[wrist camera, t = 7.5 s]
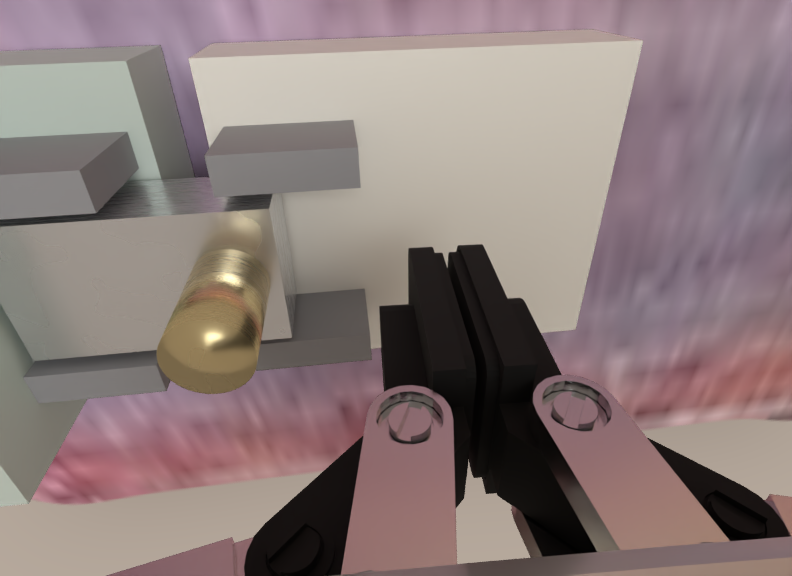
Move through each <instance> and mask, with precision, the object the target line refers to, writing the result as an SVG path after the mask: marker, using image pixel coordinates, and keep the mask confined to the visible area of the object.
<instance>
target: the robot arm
mask: <svg viewBox="0 0 792 576" xmlns="http://www.w3.org/2000/svg"><path fill="white" fill-rule="evenodd" d="M379 314H380V334H381V353H382V368H383V383H384V392H383V393H382V394H380V395H379V396H377V398H376V399H375V400H374V401H373V402H372V404H371V405H370V408H369V411H368V413H367V418H366V424H365V430H364V436H362V437H361V438H360V439H359V440H358V441H357V442H356V443H355V444H354V445H352V446H351V447H350V448H349V449H348V450H347V451H346V452H345V453H343V454H342V455H341V456H340V457H339V458H338V459H337V460H336V461H335V462H333V463H332V464H331V465H330V466H329V467H328V468H327V469H326V470H324V471H323V472H322V473H321V474H320V475H319V476H318V477H317V478H316V479H315V480H313V481H312V482H311V483H310V484H309V485H308V486H307V487H306V488H304V489H303V490H302V491H301V492H300V493H299V494H298V495H297V496H296V497H294V498H293V499H292V500H291V501H290V502H289V503H288V504H287V505H285V506H284V507H283V508H282V509H281V510H280V511H279V512H278V513H277V514H275V515H274V516H273V517H272V518H271V519H270V520H269V521H268V522H266V523H265V524H264V526H263V527H262V528H261V529H260V530H259V531H258V532H257V534H256V535H255V536H254V537H253V538H249V539H246V540H243V541H240V542H236V543H234V541H233V538H232V537H231V538H228V539H225V540H221V541H218V542H215V543H212V544H209V545H205V546H202V547H199V548H195V549H192V550H189V551H186V552H182V553H179V554H176V555H173V556H169V557H166V558H163V559H159V560H156V561H153V562H150V563H146V564H143V565H140V566H136V567H133V568H130V569H127V570H124V571H120V572H117V573H114V574H110V575H107V576H792V497H788V496H780V495H773V494H770V495H769V496H768V498H767V499H766V500H763V499H762V498H761V497H759V496H758V495H757V494H755V493H753V492H752V491H750V490H748V489H747V488H745V487H744V486H742V485H740V484H738V483H736V482H734V481H732V480H730V479H728V478H726V477H724V476H722V475H720V474H718V473H716V472H714V471H712V470H710V469H708V468H706V467H704V466H702V465H700V464H698V463H696V462H694V461H692V460H690V459H689V458H687V457H684V456H683V455H680V454H679V453H676V452H674V451H673V450H671V449H669V448H667V447H665V446H663V445H661V444H659V443H657V442H655V441H653V440H651V439H649V438H646V436H645V435H644V434H643V432H642V431H641V430H640V429H639V427H638V426H637V425H636V424H635V422H634V421H633V420H632V419H631V417H630V416H629V415H628V414H627V412H626V411H625V410H624V409H623V407H622V406H621V405H620V404H619V403H618V401H617V400H616V399H615V398H614V397H613V396H612V395H611V394H610V393H609V392H608V391H607V390H606V389H605V388H604V387H602V386H600V385H599V384H597V383H595V382H594V381H591V380H588V379H585V378H583V377H579V376H572V375H562V374H561V373H560V371H559V369H558V367H557V365H556V363H555V361H554V359H553V357H552V355H551V353H550V351H549V349H548V347H547V345H546V343H545V341H544V339H543V337H542V335H541V333H540V331H539V329H538V327H537V325H536V323H535V321H534V319H533V317H532V315H531V313H530V311H529V309H528V307H527V305H526V303H525V302H524V300H523V299H522V298H507V296H506V294H505V292H504V289H503V287H502V285H501V283H500V281H499V279H498V276H497V274H496V272H495V270H494V268H493V265H492V263H491V261H490V259H489V257H488V254H487V252H486V250H485V248H484V246H483V244H476V245H458V246H457V250H456V252H449V254H448V267H447V266H446V262H445V259H444V256H443V253H435V252H434V249H433V247H419V248H409V249H408V304H404V305H386V306H379ZM468 459H469V463H470V467H471V471H472V475H473V477H474V478H478V477H482V479H483V483H484V487H485V491H486V494H489V493H497V495H498V496H499V497H501V498H502V499H503V500H505V501H506V502H508V503H510V504H511V505H512V509H511V511H512V514H513V518H514V521H515V523H516V526H517V528H518V530H519V532H520V535H521V537H522V539H523V541H524V544H525V546H526V548H527V550H528V552H529V555H530V557H531V558H524V559H512V560H501V561H488V562H477V563H466V564H457V545H456V507H457V506H458V505H459V504H460V502H461V501H462V500H463V499H464V494H465V484H466V477H467V468H468Z"/></svg>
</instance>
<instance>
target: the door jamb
mask: <svg viewBox="0 0 792 576" xmlns="http://www.w3.org/2000/svg"><path fill="white" fill-rule="evenodd" d="M183 178H195V176H194V172H193V168H192V164H191V160H190V156H189V153H188V149H187V145H186V141H185V137H184V133H183V130H182V126H181V122H180V118H179V114H178V110H177V107H176V103H175V99H174V95H173V91H172V87H171V83H170V80H169V76H168V72H167V68H166V64H165V60H164V57H163V53H162V49H161V45H155V46H128V47H101V48H74V49H47V50H20V51H0V220H2V219H17V218H32V217H47V216H62V215H78V214H93V213H97V212H98V211H99V210H100V209H101V208H102V207H103V206H104V205H105V204H106V203H107V201H108V200H109V199H110V198H111V197H112V196H113V195H114V194H115V193H116V192H117V191H118V190H119V189H120V188H121V187H122V186H123V185H124V184H125V183H126V182H133V181H150V180H166V179H183ZM169 383H170V379H169V378H168V377H167V376H166V375H165V374H164V373H163V371H162V370H161V368H160V366H159V364H158V361H157V350H151V351H140V352H129V353H118V354H107V355H96V356H85V357H74V358H63V359H52V360H41V361H33V359H32V357H31V356H30V354H29V352H28V350H27V349H26V347H25V345H24V343H23V342H22V340H21V338H20V337H19V335H18V333H17V331H16V330H15V328H14V326H13V324H12V323H11V321H10V319H9V318H8V316H7V314H6V312H5V311H4V309H3V307H2V305H1V304H0V507H3V506H11V505H20V504H29V502H30V501H31V499H32V497H33V495H34V493H35V492H36V490H37V488H38V486H39V484H40V483H41V481H42V479H43V477H44V476H45V474H46V472H47V470H48V468H49V467H50V465H51V463H52V461H53V459H54V458H55V456H56V454H57V452H58V450H59V449H60V447H61V445H62V443H63V442H64V440H65V438H66V436H67V434H68V433H69V431H70V429H71V427H72V425H73V424H74V422H75V420H76V418H77V416H78V415H79V413H80V411H81V409H82V408H83V406H84V404H85V402H86V400H87V399H90V398H101V397H111V396H121V395H131V394H141V393H152V392H162V391H167V388H168V386H169Z"/></svg>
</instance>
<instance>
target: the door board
mask: <svg viewBox="0 0 792 576" xmlns="http://www.w3.org/2000/svg"><path fill="white" fill-rule="evenodd" d="M642 44H643V40H639V39H635V38H630V37H626V36H621V35H617V34H612V33H607V32H603V31H598V30H594V29H587V30H560V31H533V32H506V33H479V34H452V35H425V36H398V37H371V38H344V39H317V40H290V41H263V42H236V43H212V44H210V45H209V46H207V47H206V48H204V49H202V50H201V51H199V52H198V53H196V54H195V55H193V56H191V57H190V58H188V59H189V63H190V67H191V72H192V76H193V80H194V84H195V89H196V93H197V97H198V101H199V106H200V110H201V114H202V118H203V123H204V127H205V131H206V135H207V140H208V144H209V150H208V151H207V153H206V154H205V156H204V157H205V161H206V166H207V170H208V174H209V178H210V182H211V186H212V190H213V194H214V197H227V196H242V195H258V194H273V193H281V196H282V202H283V208H284V214H285V220H286V227H287V233H288V239H289V245H290V251H291V258H292V264H293V270H294V276H295V283H296V289H297V292H296V302H295V313H294V324H293V334H292V338H284V339H273V340H262V341H261V344H260V349H259V355H258V361H257V366H256V371H259V370H269V369H280V368H290V367H301V366H311V365H322V364H332V363H342V362H353V361H363V360H372V357H371V349H375V348H381V334H380V314H379V306H386V305H404V304H408V249H409V248H419V247H433V249H434V252H435V253H443V256H444V259H445V262H446V266H447V267H448V254H449V252H456V250H457V246H458V245H476V244H483V246H484V248H485V250H486V252H487V254H488V257H489V259H490V261H491V263H492V265H493V268H494V270H495V272H496V274H497V276H498V279H499V281H500V283H501V285H502V287H503V289H504V292H505V294H506V296H507V298H522V299H523V300H524V302H525V303H526V305H527V307H528V309H529V311H530V313H531V315H532V317H533V319H534V321H535V323H536V325H537V327H538V329H539V331H540V333H546V332H556V331H567V330H576V325H577V321H578V317H579V312H580V308H581V304H582V300H583V295H584V291H585V287H586V283H587V278H588V274H589V270H590V266H591V261H592V257H593V253H594V248H595V244H596V240H597V236H598V231H599V227H600V223H601V219H602V214H603V210H604V206H605V202H606V197H607V193H608V189H609V185H610V180H611V176H612V172H613V167H614V163H615V159H616V155H617V150H618V146H619V142H620V138H621V133H622V129H623V125H624V121H625V116H626V112H627V108H628V103H629V99H630V95H631V91H632V86H633V82H634V78H635V74H636V69H637V65H638V61H639V57H640V52H641V48H642Z"/></svg>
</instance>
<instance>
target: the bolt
mask: <svg viewBox="0 0 792 576" xmlns="http://www.w3.org/2000/svg"><path fill="white" fill-rule="evenodd" d="M296 292H297V289H296V283H295V276H294V270H293V264H292V258H291V251H290V245H289V239H288V233H287V227H286V220H285V214H284V208H283V202H282V196H281V193H273V194H258V195H242V196H227V197H214V194H213V190H212V186H211V182H210V178H209V177H199V178H183V179H166V180H150V181H133V182H126V183H125V184H124V185H123V186H122V187H121V188H120V189H119V190H118V191H117V192H116V193H115V194H114V195H113V196H112V197H111V198H110V199H109V200H108V201H107V203H106V204H105V205H104V206H103V207H102V208H101V209H100V210H99V211H98V212H97V213H93V214H78V215H62V216H47V217H32V218H17V219H2V220H0V304H1V305H2V307H3V309H4V311H5V312H6V314H7V316H8V318H9V319H10V321H11V323H12V324H13V326H14V328H15V330H16V331H17V333H18V335H19V337H20V338H21V340H22V342H23V343H24V345H25V347H26V349H27V350H28V352H29V354H30V356H31V357H32V359H33V361H41V360H52V359H63V358H74V357H85V356H96V355H107V354H118V353H129V352H140V351H151V350H157V361H158V364H159V366H160V368H161V370H162V371H163V373H164V374H165V375H166V376H167V377H168V378H169V379H170V380H171V381H173V382H174V383H176V384H177V385H179V386H181V387H183V388H185V389H188V390H191V391H194V392H199V393H205V394H218V393H225V392H229V391H232V390H235V389H237V388H239V387H241V386H242V385H244V384H245V383H246V382H248V381H249V380H250V378H251V377H252V376H253V374H254V372H255V370H256V366H257V361H258V355H259V349H260V344H261V341H262V340H273V339H284V338H292V334H293V324H294V313H295V302H296Z"/></svg>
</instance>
